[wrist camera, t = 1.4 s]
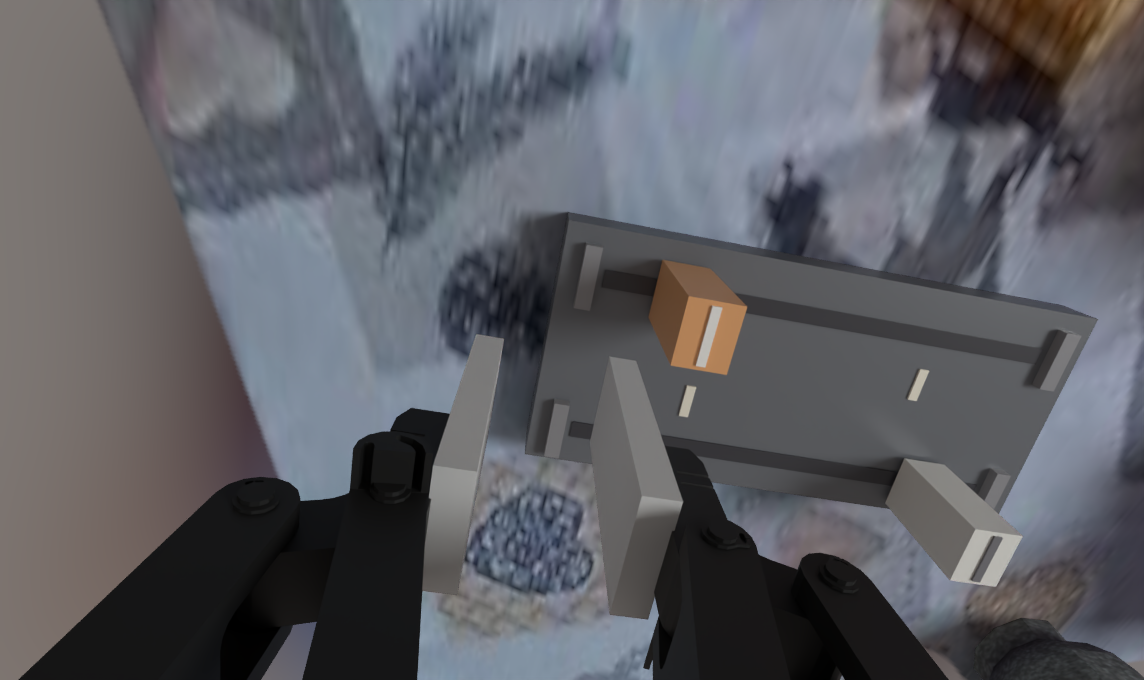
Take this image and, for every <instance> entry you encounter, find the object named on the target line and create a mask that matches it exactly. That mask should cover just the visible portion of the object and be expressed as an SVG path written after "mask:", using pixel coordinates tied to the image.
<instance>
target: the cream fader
mask: <svg viewBox="0 0 1144 680" xmlns="http://www.w3.org/2000/svg"><path fill="white" fill-rule="evenodd" d="M885 504H886V505H887V506H888V507H889V508H890V510H891V511H892V512H893V513H894V514H895V516H896V517H897V518H898V519H899V520H900V522H901V523H902V524H903V525H904V526H905V527H906V529H907V530H908V531H909V532H910V533H911V535H912V536H913V537H914V538H915V539H916V541H917V542H918V543H919V544H920V545H921V546H922V548H923V549H924V550H925V551H926V552H927V554H928V555H929V556H930V557H931V558H932V560H933V561H934V562H935V563H936V564H937V566H938V567H939V568H940V569H941V570H942V571H943V573H944V574H945V575H946V576H947V577H948V579H949V580H951V581H958V582H965V583H972V584H980V585H987V586H994V587H996V586H997V584H998V582H999V580H1000V578H1001V576H1002V574H1003V572H1004V571H1005V569H1006V567H1007V565H1008V563H1009V561H1010V559H1011V557H1012V556H1013V554H1014V552H1015V550H1016V548H1017V546H1018V544H1019V543H1020V541H1021V539H1022V537H1023V536H1022V535H1021V534H1020V533H1019V532H1018V531H1017V530H1015V529H1014V528H1013V527H1012V526H1011V525H1010V524H1009V523H1008V522H1007V521H1006V520H1004V519H1003V518H1002V517H1001V516H1000V515H999V514H998V513H997V512H996V511H995V510H994V509H992V508H991V507H990V506H989V505H988V504H987V503H986V502H985V501H984V500H983V499H981V498H980V497H979V496H978V495H977V494H976V493H975V492H974V491H973V490H972V489H971V488H969V487H968V486H967V485H966V484H965V483H964V482H963V481H962V480H961V479H960V478H958V477H957V476H956V475H955V474H954V473H953V472H952V471H951V470H950V469H949V468H947V467H946V466H945V465H943V464H937V463H931V462H924V461H918V460H912V459H906V458H904V461H903V463H902V465H901V468H900V470H899V472H898V475H897V477H896V479H895V481H894V484H893V486H892V488H891V491H890V493H889V495H888V498H887V500H886V502H885Z"/></svg>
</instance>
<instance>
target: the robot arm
mask: <svg viewBox="0 0 1144 680" xmlns="http://www.w3.org/2000/svg"><path fill="white" fill-rule="evenodd" d="M503 342H504V339H502V338H496V337H490V336H484V335H478V334H476V337H475V340H474V343H473V346H472V349H471V352H470V355H469V358H468V361H467V364H466V367H465V370H464V373H463V376H462V379H461V382H460V385H459V388H458V391H457V394H456V397H455V400H454V403H453V406H452V409H451V412H450V414H447V413H441V412H434V411H428V410H421V409H415V408H410V409H409V410H407V411H406V412H404V413H403V414H401V415H399V416H398V417H397V418H396V420H395V422H394V424H393V426H392V428H391V430H390V432H379V433H374V434H370V435H368V436H366V437H364V438H362V439H360V440H359V441H358V442H357V444H356V445H355V446H354V448H353V459H352V471H351V484H350V491H349V493H348V494H346V495H342V496H339V497H335V498H330V499H323V500H309V501H300V496H299V492H298V489H296V488H295V487H294V486H293V485H292V484H290V483H289V482H286V481H283V480H280V479H277V478H266V477H257V478H248V479H243V480H240V481H237V482H234V483H231V484H228V485H226V486H225V487H223V488H222V489H221V490H219V491H217V492H216V493H215V494H214V495H213V496H212V497H211V498H209V499H208V501H206V502H205V503H204V504H203V505H202V506H201V507H200V508H199V509H198V510H197V511H196V512H195V513H194V514H193V515H192V516H191V517H189V518H188V520H186V521H185V522H184V523H183V524H182V525H181V526H180V527H179V528H178V529H177V530H176V531H175V532H174V533H173V534H172V535H170V537H168V538H167V539H166V540H165V541H164V542H163V543H162V544H161V545H160V546H159V547H158V548H157V549H156V550H155V551H154V552H153V553H152V554H151V555H150V556H148V557H147V558H146V559H145V560H144V561H143V562H142V563H141V564H140V565H139V566H138V567H137V568H136V569H135V570H134V571H133V572H131V573H130V574H129V575H128V576H127V577H126V578H125V579H124V580H123V581H122V582H121V583H120V584H119V585H118V586H117V587H116V588H115V589H114V590H112V592H110V593H109V594H108V595H107V596H106V597H105V598H104V599H103V600H102V601H101V602H100V603H99V604H98V605H97V606H96V607H95V608H94V609H93V610H91V611H90V612H89V613H88V614H87V615H86V616H85V617H84V618H83V619H82V620H81V621H80V622H79V623H78V624H77V625H76V626H75V627H74V628H72V629H71V630H70V631H69V632H68V633H67V634H66V635H65V636H64V637H63V638H62V639H61V640H60V641H59V642H58V643H57V644H56V645H55V646H54V647H52V648H51V649H50V650H49V651H48V652H47V653H46V654H45V655H44V656H43V657H42V658H41V659H40V660H39V661H38V662H37V663H36V664H35V665H33V666H32V667H31V668H30V669H29V670H28V671H27V672H26V673H25V674H24V675H23V676H22V677H21V678H20V679H19V680H261V679H262V677H263V676H264V674H265V672H266V671H267V669H268V668H269V666H270V664H271V663H272V661H273V659H274V658H275V656H276V655H277V653H278V651H279V650H280V648H281V647H282V645H283V644H284V642H285V640H286V639H287V637H288V635H289V634H290V632H291V629H292V626H293V625H296V624H303V623H310V622H317V623H316V627H315V631H314V636H313V640H312V643H311V647H310V651H309V655H308V659H307V664H306V667H305V671H304V675H303V679H302V680H417V672H418V655H419V637H420V620H421V603H422V591H428V592H436V593H443V594H451V595H457V594H458V588H459V583H460V578H461V573H462V568H463V562H464V557H465V552H466V547H467V542H468V537H469V531H470V526H471V521H472V516H473V511H474V505H475V500H476V495H477V490H478V485H479V479H480V474H481V469H482V464H483V459H484V453H485V448H486V443H487V438H488V433H489V427H490V422H491V415H492V409H493V403H494V397H495V391H496V385H497V379H498V373H499V367H500V361H501V355H502V348H503ZM590 447H591V456H592V465H593V473H594V482H595V491H596V500H597V508H598V517H599V526H600V534H601V543H602V552H603V561H604V569H605V578H606V587H607V596H608V604H609V613H610V615H617V616H625V617H632V618H640V619H648V618H649V614H650V611H651V608H652V604H653V601H654V598H655V599H656V604H657V609H658V613H659V617H658V620H657V624H656V627H655V630H654V633H653V637H652V640H651V643H650V646H649V650H648V653H647V656H646V660H645V663H644V667H643V668H645V669H649V668H650V665H651V662H652V660H653V680H840V678H841V676H843V677H844V679H845V680H948V678H947V677H946V676H945V675H944V673H943V672H942V671H941V670H940V668H939V667H938V666H937V664H936V663H935V662H934V661H933V659H932V658H931V657H930V655H929V654H928V653H927V651H926V650H925V649H924V648H923V646H922V645H921V644H920V643H919V641H918V640H917V639H916V637H915V636H914V635H913V634H912V632H911V631H910V630H909V628H908V627H907V626H906V625H905V623H904V622H903V621H902V619H901V618H900V617H899V616H898V614H897V613H896V612H895V610H894V609H893V608H892V607H891V605H890V604H889V603H888V601H887V600H886V599H885V598H884V596H883V595H882V594H881V593H880V591H879V590H878V589H877V587H876V586H875V585H874V584H873V582H872V581H871V580H870V579H869V578H868V577H867V576H866V575H865V574H864V573H863V572H862V571H861V570H859V569H858V568H856V567H855V566H853V565H852V564H850V563H849V562H848V561H846V560H844V559H840V558H839V557H836V556H833V555H828V554H823V553H812V554H808V555H806V556H805V557H803V558H802V559H801V562H800V565H799V567H798V570H797V569H794V568H792V567H789V566H786V565H783V564H780V563H778V562H775V561H772V560H770V559H767V558H765V557H763V556H760V555H759V554H758V551H757V547H756V545H755V543H754V541H753V539H752V537H751V536H750V535H749V534H748V533H747V532H746V531H745V530H744V529H743V528H741V527H739V526H738V525H736V524H734V523H733V522H731V521H728V520H727V518H726V515H725V513H724V511H723V508H722V506H721V504H720V501H719V499H718V497H717V494H716V492H715V490H714V489H713V485H712V483H711V480H710V478H708V476H709V475H708V473H707V471H706V468H705V466H704V464H703V462H702V461H701V460H700V459H699V458H698V457H697V456H696V455H695V454H694V453H693V452H692V451H691V450H690V449H684V448H677V447H671V446H664V443H663V440H662V437H661V434H660V431H659V428H658V425H657V422H656V419H655V416H654V413H653V410H652V407H651V404H650V401H649V398H648V395H647V392H646V389H645V386H644V383H643V380H642V377H641V374H640V371H639V368H638V365H637V362H636V361H634V360H628V359H622V358H616V357H610V356H609V361H608V365H607V370H606V374H605V378H604V383H603V387H602V391H601V396H600V400H599V404H598V409H597V413H596V418H595V422H594V426H593V431H592V435H591V439H590Z"/></svg>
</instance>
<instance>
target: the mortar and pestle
mask: <svg viewBox="0 0 1144 680" xmlns="http://www.w3.org/2000/svg"><path fill="white" fill-rule="evenodd" d="M974 670H975V671H976V672H977V673H978V674H979V676H980V677H981V678H982V679H983V680H1144V677H1142V676H1141V675H1140V674H1139V673H1138V672H1137V671H1136V670H1135V669H1133V668H1132V667H1130V666H1129V665H1128V664H1127V663H1125V662H1124V661H1122V660H1121V659H1120V658H1118V657H1117V656H1116V655H1114V654H1113V653H1111V652H1108V651H1105V650H1103V649H1100V648H1098V647H1095V646H1093V645H1090V644H1088V643H1078V642H1069V641H1066V640H1065V639H1064V638H1063V637H1062V636H1061V635H1060V634H1059V633H1058V632H1057V630H1056V629H1055V628H1054V627H1053V626H1052V625H1051V624H1050V623H1049V622H1048V621H1044V620H1035V619H1026V618H1020V619H1018V620H1015V621H1012V622H1010V623H1007V624H1004V625H1002V626H999V627H997V628H994V629H993V630H992V631H991V632H990V633H989V634H988V635H987V636H986V637H985V638H984V639H983V640H982V642H981V643H980V644H979V645H978V646H977V647H976V648H975V658H974Z"/></svg>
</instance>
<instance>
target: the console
mask: <svg viewBox="0 0 1144 680" xmlns="http://www.w3.org/2000/svg"><path fill="white" fill-rule="evenodd" d="M662 260H667V261H672V262H678V263H683V264H689V265H694V266H700V267H705V268H710V269H711V270H712V271H713V272H714V273H715V274H716V275H717V276H718V277H719V278H720V279H721V280H722V281H723V282H724V283H725V284H726V285H727V286H728V287H729V288H730V289H731V290H732V291H733V292H734V293H735V294H736V295H737V296H738V298H739V299H740V300H741V301H742V302H743V303H744V304H745V305H746V306H747V310H746V313H745V316H744V319H743V323H742V326H741V329H740V333H739V336H738V339H737V343H736V346H735V349H734V353H733V356H732V359H731V362H730V366H729V369H728V372H727V375H724V374H718V373H712V372H706V371H700V370H694V369H688V368H682V367H676V366H670V363H669V361H668V359H667V357H666V355H665V353H664V350H663V348H662V346H661V344H660V342H659V339H658V337H657V335H656V333H655V331H654V329H653V326H652V324H651V322H650V320H649V318H648V317H649V313H650V309H651V305H652V301H653V297H654V292H655V288H656V284H657V280H658V276H659V272H660V268H661V264H662ZM1097 320H1098V319H1096V318H1093V317H1091V316H1088V315H1086V314H1083V313H1081V312H1078V311H1075V310H1073V309H1070V308H1068V307H1065V306H1063V305H1058V304H1052V303H1047V302H1042V301H1036V300H1031V299H1026V298H1020V297H1015V296H1010V295H1005V294H999V293H994V292H989V291H983V290H978V289H973V288H967V287H962V286H957V285H952V284H946V283H941V282H936V281H930V280H925V279H920V278H915V277H909V276H904V275H899V274H893V273H888V272H883V271H877V270H872V269H867V268H862V267H856V266H851V265H846V264H840V263H835V262H830V261H824V260H819V259H814V258H809V257H803V256H798V255H793V254H787V253H782V252H777V251H771V250H766V249H761V248H756V247H750V246H745V245H740V244H734V243H729V242H724V241H718V240H713V239H708V238H703V237H697V236H692V235H687V234H681V233H676V232H671V231H665V230H660V229H655V228H650V227H644V226H639V225H634V224H628V223H623V222H618V221H612V220H607V219H602V218H597V217H591V216H586V215H581V214H575V213H570V212H568V215H567V220H566V225H565V230H564V236H563V241H562V246H561V252H560V257H559V262H558V268H557V273H556V278H555V284H554V289H553V294H552V300H551V305H550V310H549V316H548V321H547V326H546V332H545V337H544V342H543V348H542V353H541V358H540V363H539V369H538V374H537V379H536V385H535V390H534V395H533V401H532V406H531V411H530V417H529V422H528V427H527V433H526V446H525V454H528V455H535V456H541V457H548V458H554V459H561V460H568V461H574V462H581V463H588V464H592V456H591V447H590V439H591V435H592V431H593V426H594V422H595V418H596V413H597V409H598V404H599V400H600V396H601V391H602V387H603V383H604V378H605V374H606V370H607V365H608V361H609V356H610V357H616V358H622V359H628V360H634V361H636V362H637V365H638V368H639V371H640V374H641V377H642V380H643V383H644V386H645V389H646V392H647V395H648V398H649V401H650V404H651V407H652V410H653V413H654V416H655V419H656V422H657V425H658V428H659V431H660V434H661V437H662V440H663V443H664V446H671V447H677V448H684V449H690V450H691V451H692V452H693V453H694V454H695V455H696V456H697V457H698V458H699V459H700V460H701V461H702V462H703V464H704V466H705V468H706V471H707V473H708V475H709V476H708V478H710V480H711V482H714V483H721V484H728V485H734V486H741V487H748V488H754V489H761V490H768V491H774V492H781V493H788V494H794V495H801V496H808V497H814V498H821V499H828V500H834V501H841V502H848V503H854V504H861V505H868V506H874V507H881V508H887V509H890V508H889V507H888V506H887V505H886V504H885V502H886V500H887V498H888V495H889V493H890V491H891V488H892V486H893V484H894V481H895V479H896V477H897V475H898V472H899V470H900V468H901V465H902V463H903V461H904V458H906V459H912V460H918V461H924V462H931V463H937V464H943V465H945V466H946V467H947V468H949V469H950V470H951V471H952V472H953V473H954V474H955V475H956V476H957V477H958V478H960V479H961V480H962V481H963V482H964V483H965V484H966V485H967V486H968V487H969V488H971V489H972V490H973V491H974V492H975V493H976V494H977V495H978V496H979V497H980V498H981V499H983V500H984V501H985V502H986V503H987V504H988V505H989V506H990V507H991V508H992V509H994V510H995V511H996V512H997V513H998V514H999V512H1000V510H1001V508H1002V506H1003V504H1004V502H1005V500H1006V498H1007V497H1008V495H1009V493H1010V491H1011V489H1012V487H1013V485H1014V483H1015V481H1016V479H1017V477H1018V475H1019V473H1020V471H1021V469H1022V467H1023V465H1024V463H1025V461H1026V459H1027V457H1028V455H1029V453H1030V451H1031V449H1032V447H1033V446H1034V444H1035V442H1036V440H1037V438H1038V436H1039V434H1040V432H1041V430H1042V428H1043V426H1044V424H1045V422H1046V420H1047V418H1048V416H1049V414H1050V412H1051V410H1052V408H1053V406H1054V404H1055V402H1056V400H1057V398H1058V397H1059V395H1060V393H1061V391H1062V389H1063V387H1064V385H1065V383H1066V381H1067V379H1068V377H1069V375H1070V373H1071V371H1072V369H1073V367H1074V365H1075V363H1076V361H1077V359H1078V357H1079V355H1080V353H1081V351H1082V349H1083V348H1084V346H1085V344H1086V342H1087V340H1088V338H1089V336H1090V334H1091V332H1092V330H1093V328H1094V326H1095V324H1096V322H1097Z"/></svg>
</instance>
